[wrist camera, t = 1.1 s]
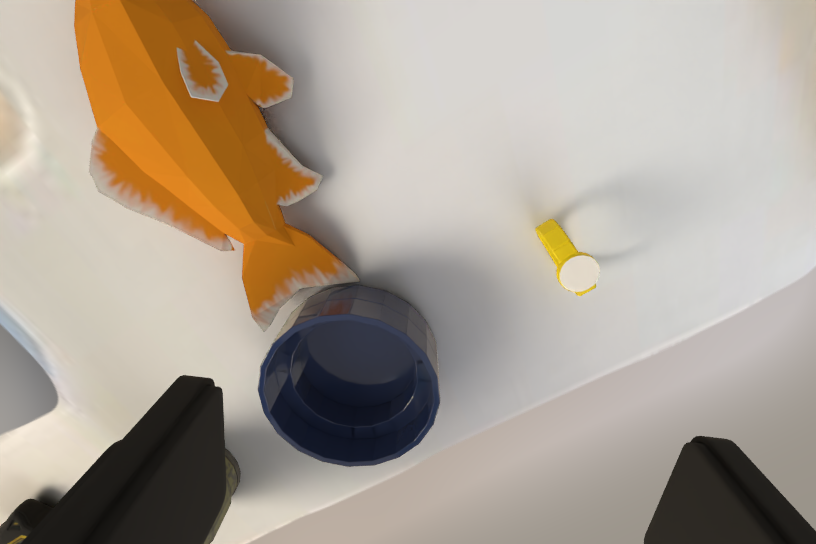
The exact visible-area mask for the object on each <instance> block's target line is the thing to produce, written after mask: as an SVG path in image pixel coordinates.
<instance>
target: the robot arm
mask: <svg viewBox="0 0 816 544" xmlns="http://www.w3.org/2000/svg"><path fill="white" fill-rule="evenodd" d="M225 496H226V463H225V439H224V415H223V393H222V389H221V388H220V387H215V384H214V381H213V379H211V378H203V377H195V376H186V375H183V376H180V377H179V378H178V379H176V381H175V382H174V383H173V384H172V385H171V386H170V387H169V388H168V389H167V391H166V392H165V393H164V394H163V395H162V396H161V397H160V398H159V399H158V401H157V402H156V403H155V404H154V405H153V406H152V407H151V408H150V409H149V411H148V412H147V413H146V414H145V415H144V416H143V417H142V418H141V419H140V421H139V422H138V423H137V424H136V425H135V426H134V427H133V428H132V429H131V431H130V432H129V433H128V434H127V435H126V436H125V437H124V438H123V439H122V440H120V441H118V442H115V443H114V444H113V445H111V446H110V447H109V448H108V449H107V450H106V451H105V452H104V453H103V454H102V455H101V456H100V458H99V459H98V460H97V461H96V462H95V463H94V464H93V465H92V466H91V467H90V468H89V469H88V471H87V472H86V473H85V474H84V475H83V476H82V477H81V478H80V479H79V480H78V481H77V483H76V484H75V485H74V486H73V487H72V488H71V489H70V490H69V491H68V492H67V493H66V495H65V496H64V497H63V498H62V499H61V500H60V501H59V502H58V503H57V504H56V505H55V506H54V508H53V509H52V510H51V511H50V512H49V513H48V514H47V515H46V516H45V517H44V518H43V520H42V521H41V522H40V523H39V524H38V525H37V526H36V527H35V528H34V529H33V530H32V532H31V533H30V534H29V535H28V536H27V537H26V538H25V539H24V540H23V541H22V542H21V544H204V542H205V540H206V538H207V536H208V534H209V532H210V530H211V528H212V526H213V524H214V522H215V520H216V518H217V516H218V514H219V512H220V510H221V508H222V506H223V503H224V500H225ZM644 544H816V531H815V530H814V529H813V528H812V527H811V526H810V524H809V523H808V522H807V521H806V520H805V519H804V518H803V517H802V516H801V515H800V514H799V512H798V511H797V510H796V509H795V508H794V507H793V506H792V505H791V504H790V503H789V502H788V501H787V500H786V498H785V497H784V496H783V495H782V494H781V493H780V492H779V491H778V490H777V489H776V487H775V486H774V485H773V484H772V483H771V482H770V481H769V480H768V479H767V478H766V477H765V476H764V474H762V472H761V471H760V470H759V469H758V468H757V467H756V466H755V465H754V463H752V462H751V460H750V459H749V458H748V457H747V456H746V455H745V454H744V453H743V452H742V450H741V449H740V448H739V447H738V446H737V445H736V444H735V443H734V442H732V441H731V440H728V439H722V438H713V437H705V436H696V437H695V438H693V439H692V441H691V442H690V443H686V444H685V445H684V447H683V448H682V451H681V453H680V455H679V458H678V460H677V462H676V465H675V467H674V469H673V471H672V474H671V476H670V478H669V481H668V483H667V486H666V488H665V490H664V492H663V495H662V497H661V500H660V502H659V504H658V507H657V509H656V511H655V513H654V516H653V518H652V520H651V523H650V525H649V527H648V530H647V532H646V534H645V538H644Z"/></svg>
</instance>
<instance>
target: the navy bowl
mask: <svg viewBox="0 0 816 544" xmlns="http://www.w3.org/2000/svg"><path fill="white" fill-rule="evenodd" d="M258 392H259V396H260V400H261V404H262V407H263V411H264V414H265V415H266V417H267V418H268V420H269V421H270V423H271V424H272V426H273V427H274V429H275V430H276V432H277V433H278V434H279V435H280V436H281V437H282V438H283V439H285V440H286V441H287V442H288V443H289V444H291V445H292V446H293V447H294V448H295V449H297V450H298V451H300V452H302V453H304V454H307V455H309V456H311V457H313V458H315V459H317V460H319V461H322V462H326V463H332V464H337V465H342V466H347V467H351V466H370V465H377V464H380V463H383V462H386V461H389V460H392V459H396V458H398V457H400V456H402V455H403V454H405V453H406V452H408V451H409V450H410V449H412V448H413V447H415V446H416V445H418V444H419V443H420V442H421V440H422V439H423V438H424V437H425V435H426V434H427V433H428V431H429V430H430V429H431V427H432V426H433V424H434V421H435V418H436V415H437V411H438V408H439V404H440V388H439V369H438V356H437V345H436V341H435V338H434V336H433V334H432V332H431V330H430V328H429V326H428V324H427V322H426V320H425V319H424V318H423V317H422V316H421V315H420V314H419V313H418V312H417V311H416V310H415V309H414V308H413V307H412V306H411V305H410V304H409V303H408V302H406V301H404V300H402V299H400V298H398V297H397V296H395V295H393V294H391V293H389V292H387V291H385V290H380V289H375V288H371V287H366V286H361V285H360V286H359V285H354V286H342V287H333V288H330V289H328V290H325V291H323V292H321V293H318V294H316V295H313V296H311V297H309V298H308V299H307V300H306V301H304V302H303V303H302V304H301V305H300V306H299V307H298V308H296V309H295V310H294V311H293V312H292V313H291V315H290V316H289V318H288V320H287V321H286V323H285V324H284V326H283V328H282V329H281V331H280V332H279V334H278V335H277V337H276V339H275V340H274V342H273V343H272V345H271V347H270V349H269V351H268V352H267V354H266V356H265V358H264V360H263V362H262V364H261V366H260V374H259V383H258Z"/></svg>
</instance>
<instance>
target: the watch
mask: <svg viewBox="0 0 816 544" xmlns="http://www.w3.org/2000/svg"><path fill="white" fill-rule="evenodd" d="M535 230H536V232H537V234H538V237H539V238H540V240H541V241H542V243H543V245H544V246H545V248H546V250H547V251H548V253H549V255H550V256H551V258H552V260H553V261H554V263H555V265H556V266H557V279H558V281H559V283H560V284H561V285H562V286H563V287H564V288H565V289H566V290H568V291H571V292H575V293H576V295H578V296H581V295H583V294H585V293H587V292H589V291H590V290H592V289H594V288H596V282H597V280H598V278H599V275H600V267H599V264H598V262H597V261H596V260H595V259H594V258H593V257H592V256H591V255H589V254H587V253H583V252H578V251H577V249H576V248H575V246H574V245H573V243H572V242H571V241H570V239H569V238H568V236H567V235H566V234H565V232H564V231H563V230H562V228H561V227H560V226H559V225H558V224H557V222H556V221H555V220H554V219H550V220H548V221H546V222H545V223H543V224H541V225H540V226H538V227H536V229H535Z"/></svg>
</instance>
